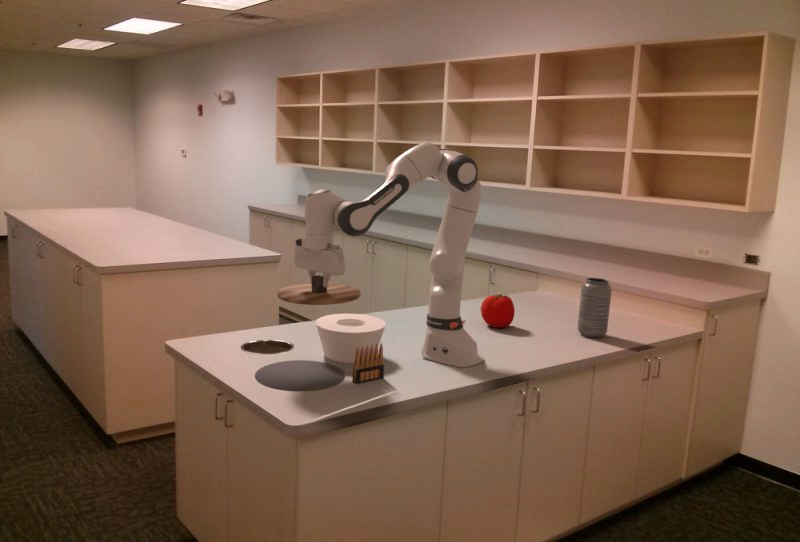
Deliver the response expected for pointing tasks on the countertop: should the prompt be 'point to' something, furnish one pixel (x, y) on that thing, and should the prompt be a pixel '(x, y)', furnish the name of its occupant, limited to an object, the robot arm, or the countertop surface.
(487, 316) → the tomato
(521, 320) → the countertop surface
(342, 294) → the lid
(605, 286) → the vase
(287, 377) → the mat
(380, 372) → the ammunition clip
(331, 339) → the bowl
